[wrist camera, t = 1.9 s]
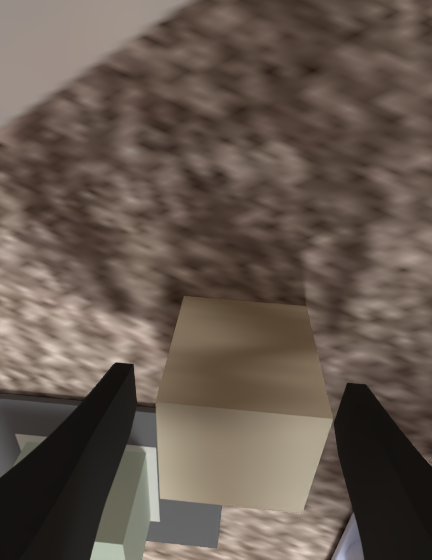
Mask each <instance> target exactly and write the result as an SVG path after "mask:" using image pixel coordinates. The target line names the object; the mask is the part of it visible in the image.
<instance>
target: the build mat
mask: <svg viewBox="0 0 432 560" xmlns="http://www.w3.org/2000/svg"><path fill="white" fill-rule="evenodd" d="M81 402H82V401H79V400H68V399H57V398H47V397H36V396H26V395H15V394H4V393H0V477H1V476H3V475H4V474H5V473H6V472H7V471H9V470H10V469H11V468H12V467H13V465H14V463H15V462H16V460H17V458H18V456H19V455H20V453H21V451H22V450H23V448H24V446H25V444H26V443H27V441H28V442H38V443H41V442H42V441H44V440H45V439H46V438H47V437H48V436H49V435H50V434H51V433H52V432H53V431H54V430H55V429H56V428H57V427H58V426H59V425H60V424H61V423H62V422H63V421H64V420H65V419H66V418H67V417H68V416H69V415H70V414H71V413H72V412H73V411H74V410H75V408H76V407H77V406H78V405H79V404H80V403H81ZM124 451H130V452H140V453H146V457H147V470H148V484H149V497H150V511H151V519H150V523H149V528H148V533H147V538H146V541H153V542H162V543H172V544H181V545H190V546H200V547H209V548H217V545H218V536H219V527H220V518H221V510H222V505H215V504H206V503H196V502H187V501H177V500H168V499H160V488H159V467H158V445H157V423H156V408H153V407H142V406H137V408H136V412H135V416H134V421H133V425H132V429H131V433H130V436H129V439H128V442H127V445H126V448H125V450H124Z"/></svg>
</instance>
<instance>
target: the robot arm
mask: <svg viewBox="0 0 432 560" xmlns="http://www.w3.org/2000/svg"><path fill="white" fill-rule="evenodd" d="M136 408H137V398H136V386H135V375H134V364H127V363H115V364H113V365H112V366H111V368H110V369H109V370H108V372H107V373H106V374H105V375H104V376H103V378H102V379H101V380H100V381H99V382H98V384H97V385H96V386H95V387H94V388H93V390H92V391H91V392H90V393H89V394H88V395H87V396H86V397H85V399H84V400H83V401H82V402H81V403H80V404H79V405H78V406H77V407H76V408H75V410H74V411H73V412H72V413H71V414H70V415H69V416H68V417H67V418H66V419H65V420H64V421H63V422H62V423H61V424H60V425H59V426H58V427H57V428H56V429H55V430H54V431H53V432H52V433H51V434H50V435H49V436H48V437H47V438H46V439H45V440H44V441H42V442H41V443H40V444H39V445H38V446H37V447H36V448H35V449H34V450H32V451H31V452H30V453H29V454H28V455H27V456H26V457H24V458H23V459H22V460H21V461H20V462H19V463H17V464H16V465H15V466H14V467H12V468H11V469H10V470H9V471H7V472H6V473H5V474H4V475H3V476H1V477H0V560H90V558H91V554H92V550H93V546H94V543H95V539H96V535H97V531H98V528H99V524H100V520H101V516H102V513H103V510H104V507H105V504H106V500H107V498H108V495H109V492H110V489H111V487H112V484H113V481H114V478H115V476H116V473H117V470H118V467H119V464H120V462H121V459H122V456H123V453H124V450H125V448H126V445H127V442H128V439H129V436H130V433H131V429H132V425H133V421H134V416H135V412H136ZM334 428H335V436H336V443H337V449H338V455H339V459H340V463H341V467H342V471H343V474H344V478H345V482H346V486H347V489H348V493H349V497H350V500H351V504H352V508H353V514H352V516H351V518H350V520H349V522H348V525H347V527H346V529H345V531H344V533H343V535H342V537H341V540H340V542H339V544H338V546H337V548H336V550H335V552H334V555H333V557H332V559H331V560H432V467H431V466H430V465H429V463H428V462H427V461H426V460H425V459H424V458H423V457H422V455H421V454H420V453H419V452H418V451H417V449H416V448H415V447H414V446H413V445H412V443H411V442H410V441H409V440H408V438H407V437H406V436H405V435H404V433H403V432H402V431H401V430H400V429H399V427H398V426H397V425H396V423H395V422H394V421H393V420H392V418H391V417H390V416H389V414H388V413H387V412H386V410H385V409H384V408H383V406H382V405H381V404H380V402H379V401H378V400H377V398H376V397H375V396H374V394H373V393H372V392H371V390H370V389H369V388H368V387H367V385H366V384H354V383H347V385H346V388H345V391H344V394H343V397H342V400H341V403H340V406H339V409H338V412H337V415H336V418H335V421H334Z"/></svg>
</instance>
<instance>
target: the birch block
mask: <svg viewBox="0 0 432 560" xmlns="http://www.w3.org/2000/svg"><path fill="white" fill-rule="evenodd" d="M332 421H333V416H332V411H331V407H330V403H329V399H328V395H327V391H326V387H325V382H324V378H323V374H322V370H321V366H320V362H319V358H318V353H317V349H316V345H315V341H314V337H313V333H312V329H311V324H310V320H309V316H308V312H307V308H306V306H299V305H287V304H275V303H263V302H251V301H240V300H228V299H216V298H204V297H192V296H184V298H183V301H182V305H181V309H180V313H179V316H178V320H177V324H176V328H175V331H174V335H173V339H172V342H171V346H170V350H169V354H168V357H167V361H166V365H165V369H164V372H163V376H162V380H161V383H160V387H159V391H158V395H157V398H156V423H157V445H158V467H159V488H160V499H168V500H177V501H187V502H196V503H206V504H215V505H225V506H235V507H244V508H254V509H263V510H273V511H282V512H292V513H301V514H302V512H303V509H304V506H305V503H306V500H307V497H308V494H309V491H310V488H311V485H312V482H313V479H314V476H315V473H316V470H317V467H318V464H319V461H320V458H321V455H322V452H323V449H324V446H325V443H326V440H327V437H328V434H329V430H330V427H331V424H332Z"/></svg>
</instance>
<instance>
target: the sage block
mask: <svg viewBox="0 0 432 560" xmlns="http://www.w3.org/2000/svg"><path fill="white" fill-rule="evenodd" d="M39 444H40V443H38V442H28V441H27V443H26V444H25V446H24V448H23V450H22V451H21V453H20V455H19V456H18V458H17V460H16V462H15V463H14V465H13V467H14V466H15V465H16V464H17V463H19V462H20V461H21V460H22V459H23V458H24V457H26V456H27V455H28V454H29V453H30V452H31V451H32V450H34V449H35V448H36V447H37V446H38V445H39ZM150 519H151V511H150V497H149V484H148V470H147V457H146V453H140V452H130V451H124V453H123V456H122V459H121V462H120V464H119V467H118V470H117V473H116V476H115V478H114V481H113V484H112V487H111V489H110V492H109V495H108V498H107V500H106V504H105V507H104V510H103V513H102V516H101V520H100V524H99V528H98V531H97V535H96V539H95V543H94V546H93V550H92V554H91V558H90V560H142V557H143V552H144V547H145V543H146V538H147V533H148V528H149V523H150Z"/></svg>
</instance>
